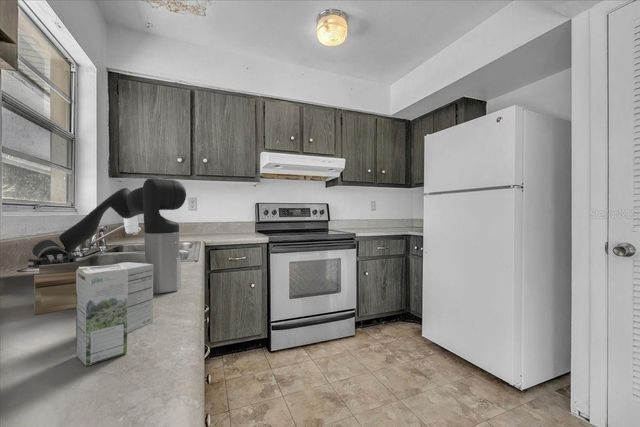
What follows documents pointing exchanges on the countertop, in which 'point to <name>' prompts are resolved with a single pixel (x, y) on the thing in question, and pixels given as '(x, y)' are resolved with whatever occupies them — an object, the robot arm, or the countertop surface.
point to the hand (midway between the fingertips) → (56, 264)
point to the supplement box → (139, 294)
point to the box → (54, 298)
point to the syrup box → (101, 313)
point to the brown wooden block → (56, 274)
